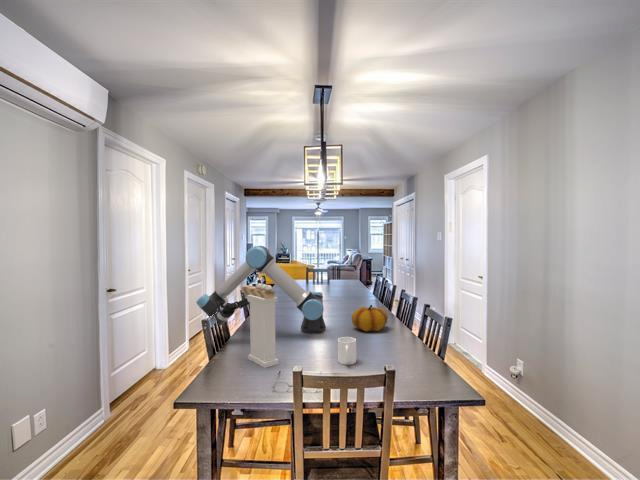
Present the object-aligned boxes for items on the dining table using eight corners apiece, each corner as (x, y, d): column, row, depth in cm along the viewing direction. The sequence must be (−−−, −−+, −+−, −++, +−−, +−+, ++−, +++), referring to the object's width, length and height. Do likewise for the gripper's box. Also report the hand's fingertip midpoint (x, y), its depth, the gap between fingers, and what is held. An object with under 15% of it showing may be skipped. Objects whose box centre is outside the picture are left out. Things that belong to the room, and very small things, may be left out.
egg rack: (274, 297, 155) (274, 284, 155) (266, 299, 153) (266, 285, 153) (248, 291, 174) (248, 279, 174) (241, 292, 171) (241, 280, 171)
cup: (356, 358, 162) (355, 336, 162) (356, 368, 150) (356, 345, 150) (338, 358, 163) (338, 336, 163) (337, 368, 151) (337, 344, 151)
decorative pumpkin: (370, 323, 226) (370, 299, 226) (395, 330, 207) (394, 305, 207) (345, 328, 215) (345, 303, 215) (369, 336, 196) (369, 310, 196)
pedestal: (278, 363, 157) (277, 297, 156) (264, 367, 152) (263, 299, 152) (261, 355, 168) (260, 293, 168) (248, 358, 164) (247, 295, 163)
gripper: (248, 314, 196) (264, 300, 182) (204, 322, 181) (218, 307, 166) (245, 302, 199) (260, 286, 185) (201, 308, 184) (215, 292, 169)
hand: (240, 296), depth 176 cm, fingers open, 13 cm apart
